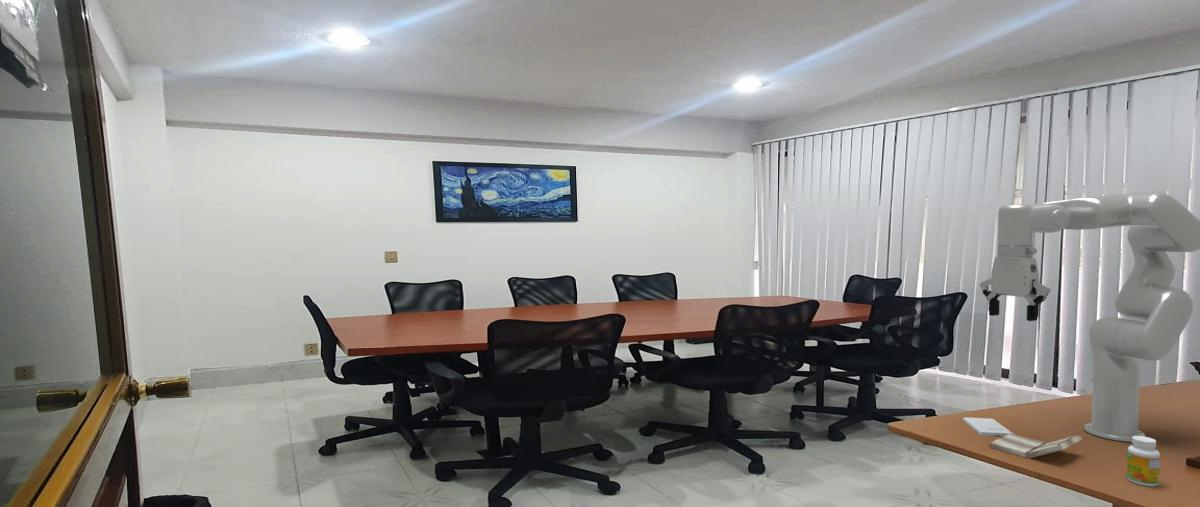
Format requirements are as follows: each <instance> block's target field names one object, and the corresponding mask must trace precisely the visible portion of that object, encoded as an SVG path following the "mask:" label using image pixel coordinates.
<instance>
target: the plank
mask: <svg viewBox="0 0 1200 507" xmlns="http://www.w3.org/2000/svg"><path fill="white" fill-rule="evenodd" d="M1081 440H1083V437H1082V436H1081V434H1080V433H1077V434H1074V435H1071V436H1067V437H1064V438H1061V439H1057V440H1053V441H1050V442H1045V444H1044V445H1042V446H1040V447H1038V448H1036V449H1034V450H1033V451H1031V452H1029V453H1027V455H1028V456H1029V458H1028V459H1032V458H1037V457H1040V456H1043V455H1048V454H1051V453H1055V452H1058V451H1063V450H1065V449H1068V448H1069V447H1070V446H1073V445H1074V444H1076V443H1078V442H1079V441H1081Z"/></svg>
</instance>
